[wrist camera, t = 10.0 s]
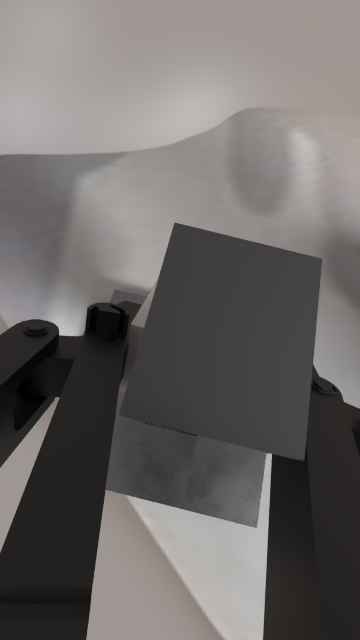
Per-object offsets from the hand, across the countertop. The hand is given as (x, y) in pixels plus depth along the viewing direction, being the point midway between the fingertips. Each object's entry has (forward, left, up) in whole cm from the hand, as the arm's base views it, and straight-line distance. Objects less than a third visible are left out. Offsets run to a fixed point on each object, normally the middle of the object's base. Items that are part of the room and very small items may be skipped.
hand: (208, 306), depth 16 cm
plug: (+3, +2, -3) cm, 5 cm away
